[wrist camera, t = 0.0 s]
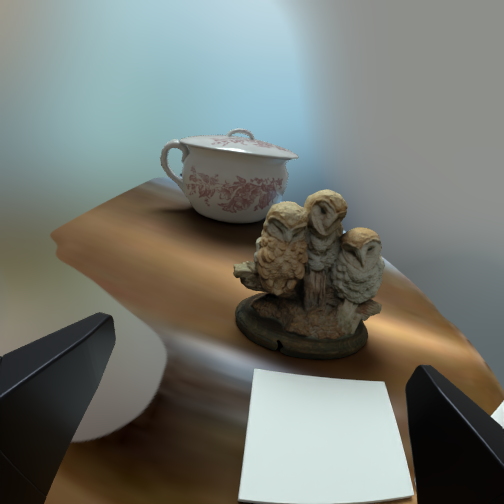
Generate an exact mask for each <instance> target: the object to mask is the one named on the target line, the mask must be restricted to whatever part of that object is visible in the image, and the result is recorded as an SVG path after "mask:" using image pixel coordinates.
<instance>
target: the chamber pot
mask: <svg viewBox="0 0 504 504" xmlns="http://www.w3.org/2000/svg"><path fill="white" fill-rule="evenodd" d="M235 133H242V134H245V135H248V136H250V138H244V137H237V136H232V134H235ZM171 148H178V149H180V150H181V151H182V153H183V155H182V162H183V169H182V178H183V179H181V178H180V177H178V176H177V175H176V174H174V172H173V171H172V169H171V168H170V166H169V165H168V159H167V158H168V153H169V150H170V149H171ZM188 148H189V149H188ZM160 159H161V166H162V167H163V169H164V171H165V172H166V173H167V175H168V176H169V177H170V178H171V179H172V180H173V181H174V182H176V183H177V184H178V186H179V187H180V188H181V189H182V191H183V192H184V194H185V195H186V197H187V198H188V199H189V202H190V204H191V206H192V207H193V208H194V209H195V210H196V211H197V212H198V213H199V214H202V215H204V216H206V217H208V218H210V219H213V220H216V221H220V222H225V223H234V224H244V223H252V222H257V221H260V220H262V219H264V218H265V217H266V216H267V214H268V212H269V210H270V208H271V206H272V205H275V204H278V203H280V201H281V199H282V196H283V194H284V191H285V189H286V185H287V180H288V172H287V169H286V166H285V165H286V163H287V162H288V161H289V160H295V159H298V155H296V154H294V153H292V152H291V151H289V150H287V149H284V148H281V147H279V146H276V145H273V144H270V143H267V142H263V141H260V140H255V139H254V136H253V134H252V133H251V132H250V131H248V130H245V129H233V130H231V131H229V132H228V133H227V135H203V136H202V135H201V136H192V137H188V138H182V139H180V140H179V141H178V140H177V139H173V140H171V141H169V142H168V143H167V144H166V145H165V146H164V148H163V149H162V152H161V158H160Z"/></svg>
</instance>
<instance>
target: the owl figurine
mask: <svg viewBox="0 0 504 504" xmlns="http://www.w3.org/2000/svg"><path fill="white" fill-rule="evenodd" d="M346 209H347V204H346V201H344V200H343V198H342V196H341V195H340V194H337V193H336V192H333V191H330V190H322V191H318V192H316V193H315V194H312V195H310V196H308V198H307V200H306V202H305V205H304V208H302V207H301V206H299V205H298V204H296V203H294V202H290V201H289V202H286V201H285V202H281V203H278V204H275V205H272V206H271V208H270V210H269V212H268V214H267V216H266V220H265V222H264V225H263V231H262V233H261V237H259V238H258V239H257V241H256V249H257V251H256V252H255V254H254V262H255V263H253V262H251V261H246V262H242V263H241V264H234V272H233V274H234V276H235V277H236V278H240V281H241V283H242V284H243V285H244V286H245V287H246V288H248V289H251V290H255V291H262V292H264V293H259V294H256V295H254V296H251V297H248V298H246V299H244V300H243V301H241V302H240V303H239V305H238V306H237V308H236V311H235V316H236V322H237V324H238V327H239V328H240V330H241V331H242V332H243V333H244V334H245V335H246V336H247V337H248V338H249V339H250V340H252V341H253V342H255V343H257V344H259V345H261V346H264V347H268V348H269V349H271V350H274V351H275V350H276V349H277V348H278V343H277V340H280V341H281V343H282V345H283V347H282V348H281V349H280V351H281V352H282V353H284V354H285V355H288V356H293V357H299V358H306V359H317V360H322V359H337V358H342V357H346V356H349V355H351V354H354V353H356V352H357V351H358V350H359V349H360V348H361V347H363V346H364V345H365V343H366V342H367V338H368V332H367V328H366V327H365V325H364V323H363V321H365V320H367V319H368V318H369V317H370V316H372V315H375V314H378V313H380V311H381V306H382V305H381V304H379V303H377V302H375V301H373V300H371V298H373V297H375V295H376V293H377V290H378V289H379V287H380V285H381V282H382V274H383V269H384V267H385V264H384V261H383V259H382V257H381V255H380V252H381V248H382V247H381V242H380V239H379V236H378V235H377V234H376V232H374V231H372V230H370V229H368V228H354V229H352V230H350V231H347V232H346V233H344V234H343V226H342V223H341V221H342V220H343V218H344V217H345V215H346V213H347V210H346ZM362 320H363V321H362Z"/></svg>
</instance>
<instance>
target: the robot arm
mask: <svg viewBox="0 0 504 504" xmlns="http://www.w3.org/2000/svg"><path fill="white" fill-rule="evenodd" d="M115 340H116V337H115V329H114V321H113V317H112V316H111V315H108V314H105V313H100V312H99V313H96V314H94V315H91V316H89V317H87V318H85V319H83V320H80V321H78V322H76V323H74V324H71V325H69V326H67V327H65V328H62V329H60V330H58V331H56V332H54V333H52V334H49V335H47V336H45V337H43V338H40V339H38V340H36V341H34V342H31V343H29V344H27V345H25V346H22V347H20V348H18V349H16V350H14V351H11V352H9V353H7V354H5V355H3V357H1V356H0V504H44V502H45V500H46V496H47V494H48V492H49V490H50V487H51V485H52V483H53V480H54V478H55V476H56V473H57V471H58V469H59V466H60V464H61V462H62V460H63V458H64V455H65V453H66V451H67V449H68V447H69V445H70V442H71V440H72V438H73V436H74V434H75V432H76V430H77V428H78V426H79V424H80V422H81V420H82V418H83V416H84V414H85V411H86V410H87V407H88V405H89V404H90V402H91V400H92V398H93V396H94V394H95V392H96V390H97V388H98V386H99V383H100V381H101V378H102V376H103V373H104V370H105V368H106V365H107V363H108V360H109V358H110V355H111V353H112V350H113V348H114V345H115ZM405 393H406V404H407V417H408V430H409V438H410V444H411V451H412V458H413V465H414V473H415V482H416V492H417V503H418V504H504V429H503V427H502V426H501V425H500V424H499V423H498V422H496V421H495V420H494V419H493V418H492V417H491V416H490V415H488V414H487V413H486V412H485V411H484V410H483V409H482V408H480V407H479V406H478V405H477V404H476V403H475V402H473V401H472V400H471V399H470V398H469V397H468V396H466V395H465V394H464V393H463V392H462V391H461V390H459V389H458V388H457V387H456V386H455V385H454V384H452V383H451V382H450V381H449V380H448V379H447V378H445V377H444V376H443V375H442V374H441V373H439V372H438V371H437V370H436V369H435V368H433V367H432V366H431V365H419V366H418V367H417V368H416V369H415V371H414V372H413V374H412V376H411V377H410V379H409V380H408V382H407V384H406V388H405Z"/></svg>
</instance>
